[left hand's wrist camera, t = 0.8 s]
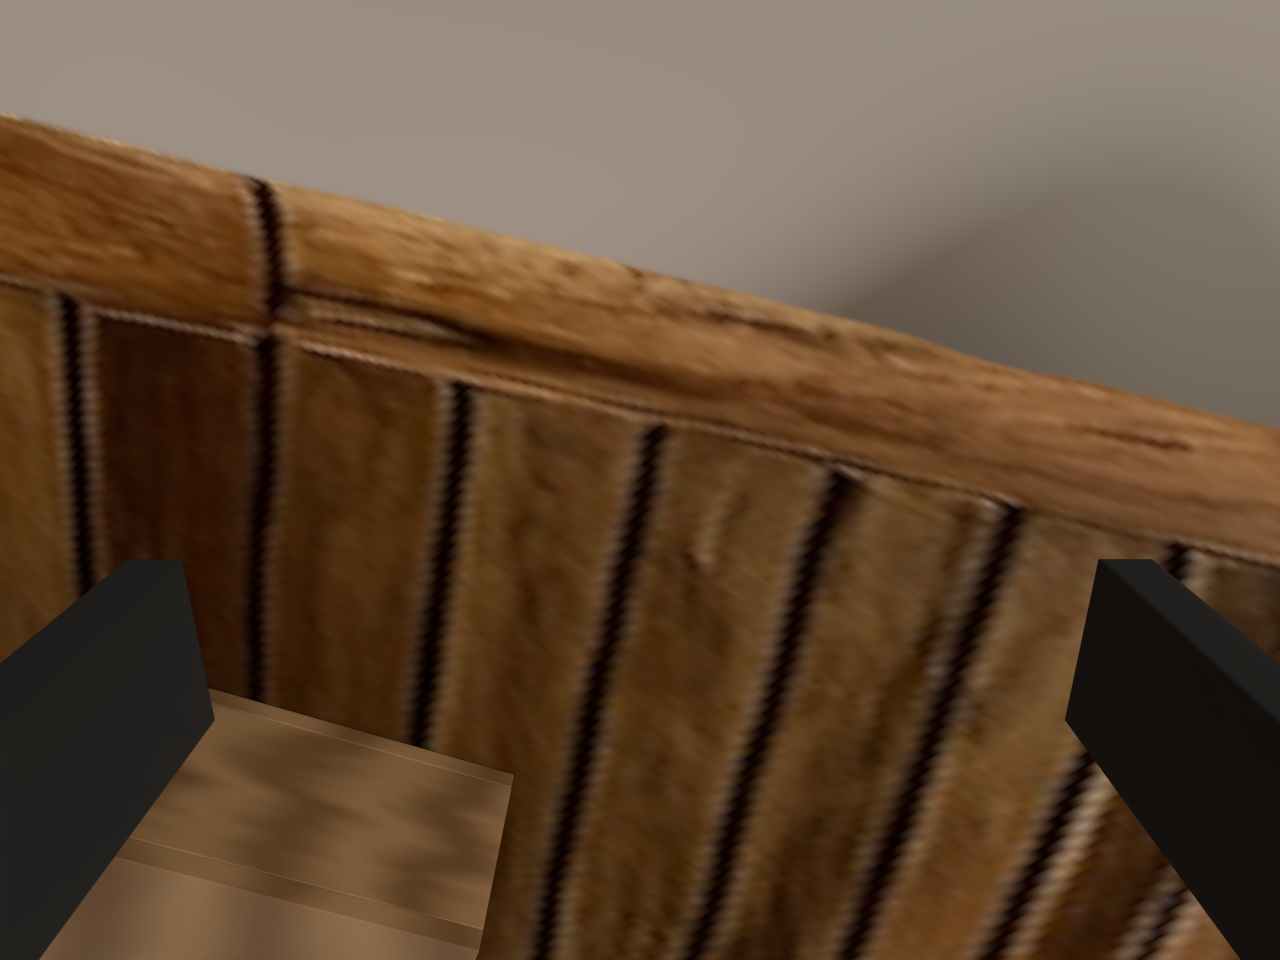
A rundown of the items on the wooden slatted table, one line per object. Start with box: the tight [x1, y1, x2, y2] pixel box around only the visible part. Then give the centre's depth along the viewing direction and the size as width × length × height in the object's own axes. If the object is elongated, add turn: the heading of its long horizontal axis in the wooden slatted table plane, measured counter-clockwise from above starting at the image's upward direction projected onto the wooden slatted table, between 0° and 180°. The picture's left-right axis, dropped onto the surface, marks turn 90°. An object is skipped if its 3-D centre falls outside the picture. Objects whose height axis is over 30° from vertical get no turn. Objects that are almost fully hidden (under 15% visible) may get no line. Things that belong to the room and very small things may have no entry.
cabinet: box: [39, 688, 514, 960], centre depth 42 cm, size 19×11×11 cm, turn 70°
